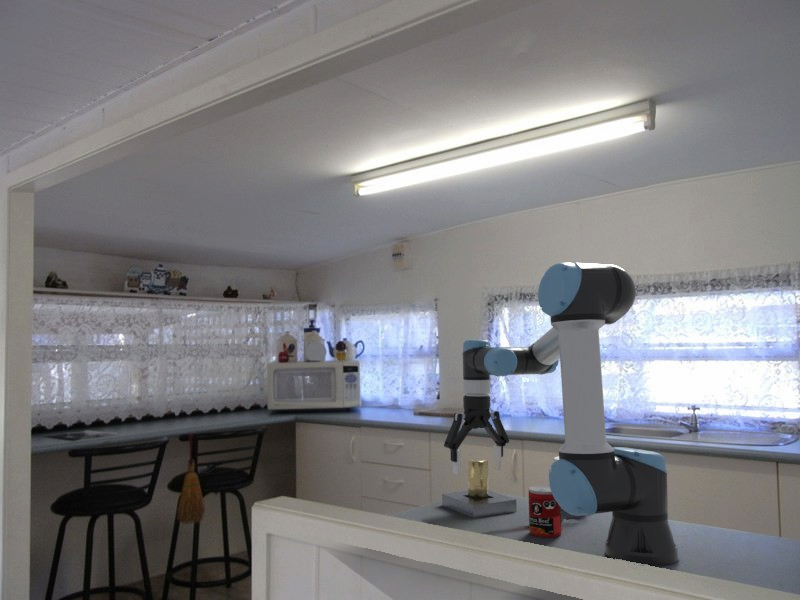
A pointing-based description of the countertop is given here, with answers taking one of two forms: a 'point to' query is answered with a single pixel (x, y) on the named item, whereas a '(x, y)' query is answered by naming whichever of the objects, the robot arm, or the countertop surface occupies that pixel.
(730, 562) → the countertop surface
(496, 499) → the housing
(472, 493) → the cream rounded cylinder
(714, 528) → the countertop surface
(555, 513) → the canned food
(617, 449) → the robot arm
